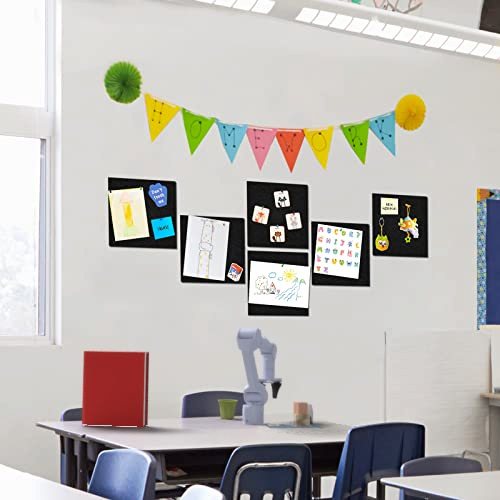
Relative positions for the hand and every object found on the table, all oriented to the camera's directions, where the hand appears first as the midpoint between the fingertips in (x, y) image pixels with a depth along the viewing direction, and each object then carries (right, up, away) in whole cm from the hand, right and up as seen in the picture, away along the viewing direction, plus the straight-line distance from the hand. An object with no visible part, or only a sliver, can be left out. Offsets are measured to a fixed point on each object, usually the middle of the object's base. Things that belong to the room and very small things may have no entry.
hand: (268, 398), depth 465 cm
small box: (+16, -8, -6) cm, 19 cm away
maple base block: (+14, -9, -21) cm, 27 cm away
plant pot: (-19, -11, +10) cm, 24 cm away
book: (-67, -8, -30) cm, 74 cm away
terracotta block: (+14, -4, -20) cm, 24 cm away
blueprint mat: (+11, -9, -23) cm, 27 cm away
